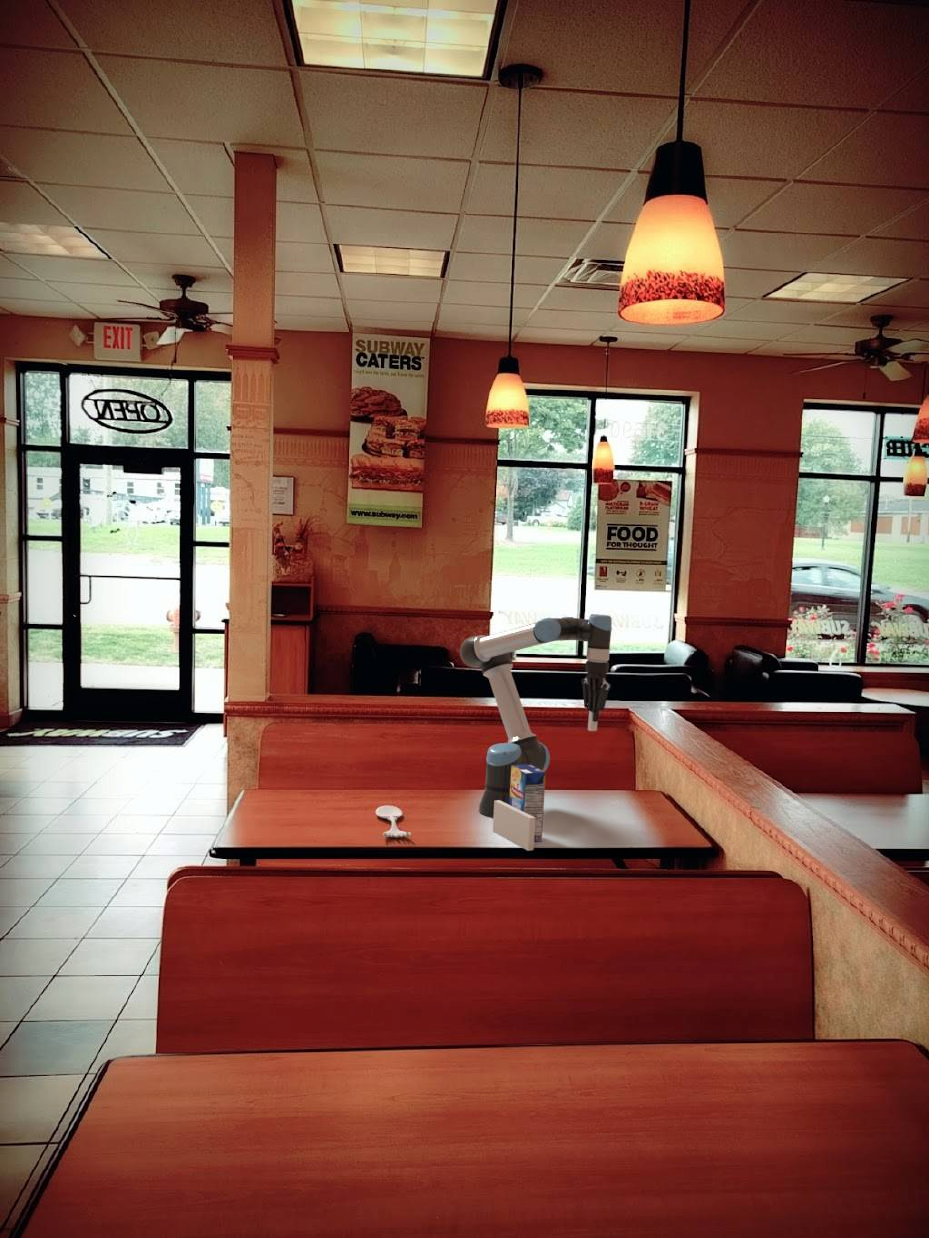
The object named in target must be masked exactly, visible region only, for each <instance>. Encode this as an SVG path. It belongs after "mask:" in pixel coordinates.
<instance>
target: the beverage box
mask: <svg viewBox="0 0 929 1238" xmlns="http://www.w3.org/2000/svg"><path fill="white" fill-rule="evenodd" d="M546 775H547V773H546V771H545V772H544V771H542V770H540V769H538V768H536V767H535V766H533V765H531V764H529V765H512V767H511V784H510V801H509V805H511V806H513V807H515V808H517V809H519V810H521V811H523V812H525V813H527V814H529V815H531V816H533V817H535V832H534V843H542V841H543V840H542V839H543V838H542V837H543V821H544V807H545V791H546V789H545V788H546Z"/></svg>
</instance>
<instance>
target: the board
mask: <svg viewBox="0 0 929 1238" xmlns="http://www.w3.org/2000/svg"><path fill="white" fill-rule="evenodd" d="M492 818H493V819H492V833H493V832H494V833H495V834H497V835H499V836H500V837H502V838H505V839H506V840H507V841H510V842H511V843H513V844H514V845H516V846H518V847H520V848H522V849H524V850H526V851H527V852H528V851H529V852H530V851H534V849H535V848H534V846H535V842H534V832H535V817H533V816H531V815H529V814H527V813H525V812H523V811H521V810H519V809H517V808H515V807H513V806H511V805H509V804H507V803H504V802H502V801H500V800H496V801H494V816H493V817H492Z"/></svg>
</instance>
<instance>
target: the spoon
mask: <svg viewBox="0 0 929 1238" xmlns="http://www.w3.org/2000/svg"><path fill="white" fill-rule="evenodd" d="M375 814H376V816H378V817H380V818H381V819H387V820H388V821H391V827H390V829H389V830H387V831H384V832H383V833H382V836H383V837H388V838H389V837H390V838H404V837H411V836H412V833H411V832H407V831H403V830H400V829H399V828H398V826H397V820H398V819H399V818H401V817H402V816H403V814H404V813H403V811H402V809H400V808H398V807H397V806H393V805H382V806H379V807H377V809H376V810H375Z"/></svg>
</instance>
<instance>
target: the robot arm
mask: <svg viewBox="0 0 929 1238" xmlns="http://www.w3.org/2000/svg"><path fill="white" fill-rule="evenodd" d="M612 621H613V620H612V617H611V616H610V615H607V614H596V613H595V614H590V615H589V618H588V619H586V618H585V619H583V618H577V617H573V616H570V617H569V616H563V617H561V618H559V617H558V618H557V617H554V618H553V617H545V618H541V619H539V620H538V621H537V622H533V623H528V624H525V625H521V626H518V627H515V628H512V629H509V630H504V631H500V632H497V633H494V634H490V635H484V634H479V635H473V636H469V637H467V638H466V639H464V640H463V642H462V643H461V645H460V647H459V656H460V659H461V660H462V662H463V663H464V664H465V665H466V666H467V667H470V668H475V669H477V668H478V669H480V670H481V673H482V674H483V677H486V678H487V679H488V680H489V684H490V687H491V690H492V693H493V696H494V698H495V701H496V705H497V708H498V711H499V715H500V718H501V720H502V721H501V722H502V723H503V726H504V730H505V732H506V735H507V738H508V741H507V742H504V743H501V742H500V743H496V744H493V745H491V746H490V747H489V748H488V750H487V752H486V753H487V754H486V760H485V761H486V762H485V763H486V764H485V785H484V792H483V794H482V796H481V798H480V799H481V800H480V802H479V804H478V805H479V806H478V812H479V813H480V814H482V815H484V816H486V817H490V818H493V816H494V801H496V800H500V801H502V802H504V803H507V804H509V801H510V784H511V767H512V765H529V764H531V765H533V766H535V767H536V768H538V769H540V770H542V771H544V772H546V771H547V769H548V767H549V765H550V761H551V758H550V756H551V755H550V752H549V749H548V747H547V746H546V745H545V744H543V743H542V742H540V741H539V739H538V736H537V734H535V733H533V732H532V731H531V728H530V725H529V723H528V720H527V716H526V713H525V710H524V706H523V703H522V701H521V697H520V695H519V692H518V690H517V686H516V683H515V680H514V678H513V675H512V672H511V671H512V669H513V666H514V665H513V661H514V659H515V658H514V656H515V652H516V651H520V650H523V649H527V648H531V647H535V646H540V645H543V644H548V643H552V642H559V641H560V642H562V641H563V642H564V641H580V642H587V643H586V644H587V647H586V656H585V657H586V658H585V659H587V660H586V661H585V672H587V674H586V676H585V678H581V680H580V683H581V685H582V696H583V698H582V699H583V706H584V708H586V710H587V715H588V716H587V720H588V722H587V731H589V732H595V731H596V732H597V731H598V722H599V718H600V717H599V716H600V712H604V710H605V708H606V704H607V699H608V695H609V691H610V689H612V688H611V687H612V684H611V683H608V682H607V674H608V673H609V667H610V666H609V665H610V664H609V662H608V661H610V652H611V649H610V648H611V637H612V630H613V627H612V623H613V622H612Z"/></svg>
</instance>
